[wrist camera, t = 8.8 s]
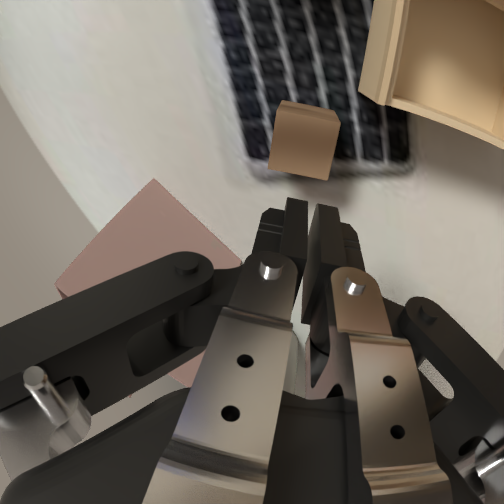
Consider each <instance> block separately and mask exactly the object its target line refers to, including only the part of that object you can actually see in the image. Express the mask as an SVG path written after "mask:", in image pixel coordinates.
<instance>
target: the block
mask: <svg viewBox="0 0 504 504" xmlns="http://www.w3.org/2000/svg"><path fill="white" fill-rule="evenodd" d="M340 124H341V123H340V121H339V119H338V117H337V115H336V113H335V111H334V110H329V109H325V108H320V107H315V106H311V105H305V104H300V103H295V102H289V101H284V100H282V101H281V103H280V105H279V107H278V109H277V112H276V119H275V125H274V131H273V138H272V144H271V150H270V157H269V163H268V169H271V170H277V171H282V172H287V173H293V174H298V175H303V176H308V177H313V178H317V179H322V180H328V176H329V172H330V168H331V164H332V160H333V155H334V151H335V147H336V142H337V138H338V133H339V129H340Z"/></svg>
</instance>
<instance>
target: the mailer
mask: <svg viewBox="0 0 504 504" xmlns="http://www.w3.org/2000/svg"><path fill="white" fill-rule="evenodd" d="M358 91H359V92H361V93H362V94H364V95H365V96H367V97H368V98H370V99H371V100H373V101H374V102H376V103H377V104H380V105H383V106H385V105H388V106H392V107H395V108H398V109H402V110H405V111H408V112H411V113H414V114H417V115H420V116H423V117H426V118H429V119H431V120H434V121H437V122H440V123H442V124H445V125H448V126H450V127H453V128H455V129H458V130H460V131H463V132H465V133H468V134H470V135H473V136H475V137H477V138H480V139H482V140H484V141H486V142H489V143H491V144H493V145H495V146H497V147H499V148H501V149H504V11H502V10H500V9H499V8H497V7H495V6H494V5H492V4H490V3H488V2H486V1H485V0H374V4H373V11H372V17H371V23H370V29H369V35H368V41H367V47H366V52H365V58H364V63H363V68H362V74H361V79H360V84H359V89H358Z"/></svg>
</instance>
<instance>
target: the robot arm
mask: <svg viewBox="0 0 504 504" xmlns="http://www.w3.org/2000/svg"><path fill="white" fill-rule="evenodd" d="M360 250H361V248H360V244H359V240H358V236H357V233H356V231H355V230H354V229H353V228H352V227H351V225H350V224H346V223H342V222H340V217H339V211H338V208H336V207H332V206H327V205H323V204H317V205H316V208H315V212H314V216H313V219H312V223H311V227H310V231H309V235H308V201H304V200H299V199H294V198H289V197H287V201H286V205H285V210H279V209H274V208H269V209H268V210H266V211H265V212H264V213H262V216H261V220H260V224H259V227H258V231H257V235H256V239H255V242H254V246H253V250H252V254H251V255H249V256H248V257H247V258H246V260H245V262H244V264H243V265H241V266H238V267H235V268H230V269H214V266H213V264H212V262H211V261H210V260H209V259H208V258H207V257H205V256H204V255H202V254H199V253H196V252H190V251H180V252H175V253H172V254H169V255H166V256H164V257H162V258H159V259H157V260H154V261H152V262H149V263H147V264H145V265H142V266H140V267H137V268H135V269H133V270H130V271H128V272H125V273H123V274H121V275H118V276H116V277H114V278H111V279H109V280H106V281H104V282H102V283H99V284H97V285H95V286H92V287H90V288H88V289H85V290H83V291H81V292H78V293H76V294H74V295H72V296H69V297H67V298H65V299H62V300H61V301H58V302H56V303H53V304H51V305H49V306H47V307H44V308H42V309H40V310H37V311H35V312H33V313H31V314H29V315H26V316H24V317H22V318H20V319H18V320H15V321H13V322H11V323H9V324H7V325H4V326H2V327H0V456H1V459H2V461H3V463H4V466H5V468H6V470H7V473H8V475H9V477H10V479H11V481H12V482H11V483H10V484H9V485H8V486H7V488H6V489H5V491H4V493H3V495H2V498H1V500H0V504H504V370H503V369H502V368H501V367H500V366H499V364H498V363H497V362H496V361H495V360H494V359H493V358H492V357H491V356H490V355H489V354H488V353H487V352H486V351H485V350H484V349H483V348H482V347H481V346H480V345H479V344H478V343H477V342H476V341H475V340H474V339H473V338H472V337H471V336H470V335H469V334H468V333H467V332H466V331H465V330H464V329H463V328H462V327H461V326H460V325H459V324H458V323H457V322H456V321H455V320H454V319H453V318H452V317H451V316H450V315H449V314H448V313H447V312H446V311H444V310H443V309H442V308H441V307H440V306H439V305H438V304H437V303H435V302H434V301H432V300H430V299H427V298H424V297H413V298H410V299H409V300H408V301H407V303H406V305H405V306H402V305H399V304H397V303H395V302H392V301H390V300H388V299H386V298H384V297H382V295H381V292H380V289H379V286H378V284H377V282H376V281H375V279H374V278H373V277H372V276H370V275H369V274H368V273H366V271H365V267H364V262H363V257H362V253H361V251H360ZM302 277H303V293H302V314H301V323H303V324H308V325H310V333H309V335H308V338H307V341H306V345H305V355H306V395H305V398H302V397H299V396H297V395H294V391H295V380H296V369H297V355H298V340H297V337H296V335H295V334H294V332H293V331H292V328H293V323H291V322H290V320H291V314H292V310H293V307H294V303H295V300H296V297H297V293H298V290H299V287H300V283H301V280H302ZM205 349H206V350H205ZM204 350H205V353H204V356H203V358H202V361H201V363H200V366H199V368H198V371H197V374H196V376H195V379H194V381H193V384H192V387H188V388H183V389H180V390H177V391H174V392H171V393H169V394H167V395H164V396H163V397H161V398H159V399H157V400H155V401H154V402H152V403H150V404H149V405H147V406H146V407H144V408H142V409H140V410H139V411H137V412H135V413H134V414H132V415H130V416H129V417H127V418H125V419H123V420H122V421H120V422H118V423H117V424H115V425H113V426H111V427H110V428H108V429H106V430H104V431H103V432H101V433H99V434H97V435H95V436H94V437H92V438H90V439H88V440H86V441H84V442H83V443H81V444H79V445H77V446H75V447H74V445H75V444H77V443H78V442H80V441H81V440H82V439H83V438H84V437H85V436H86V435H87V433H88V431H89V429H90V426H91V416H92V415H94V414H96V413H98V412H100V411H102V410H103V409H105V408H107V407H109V406H111V405H113V404H115V403H116V402H118V401H120V400H122V399H124V398H125V397H127V396H129V395H131V394H133V393H134V392H136V391H138V390H140V389H141V388H143V387H145V386H147V385H148V384H150V383H152V382H154V381H155V380H157V379H159V378H160V377H162V376H164V375H166V374H167V373H169V372H171V371H173V370H174V369H176V368H178V367H179V366H181V365H183V364H184V363H186V362H188V361H189V360H191V359H193V358H194V357H196V356H198V355H199V354H201V353H202V352H204ZM425 359H427V360H428V361H429V362H430V363H431V364H432V365H433V366H434V367H435V368H436V369H437V370H438V372H439V373H440V374H441V375H442V376H443V377H444V378H445V379H446V380H447V381H448V382H449V383H450V385H451V386H452V388H453V390H454V398H452V399H448V398H445V397H444V396H442V394H441V393H440V392H439V391H438V390H437V389H436V388H435V387H434V386H433V384H432V383H431V382H430V381H429V380H428V379H427V378H426V377H425V376H424V375H423V373H422V372H421V371H420V370H419V369H418V367H419V366H420V365H421V364H422V362H423V361H424V360H425Z"/></svg>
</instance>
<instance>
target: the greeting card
mask: <svg viewBox="0 0 504 504" xmlns="http://www.w3.org/2000/svg"><path fill="white" fill-rule="evenodd" d="M180 251H190V252H196V253H199V254H202V255H204V256H205V257H207V258H208V259H209V260H210V261H211V262H212V264H213V266H214V269H230V268H235V267H238V266H240V263H241V260H240V259H239V258H238V257H237V256H236V255H235V254H234V253H233V252H232V251H231V250H230V249H229V248H227V247H226V246H225V245H224V244H223V243H222V242H221V241H220V240H219V239H218V238H217V237H216V236H215V235H214V234H213V233H211V232H210V231H209V230H208V229H207V228H206V227H205V226H204V225H203V224H202V223H201V222H200V221H199V220H198V219H197V218H195V217H194V216H193V215H192V214H191V213H190V212H189V211H188V210H187V209H186V208H185V207H184V206H183V205H182V204H181V203H180V202H179V201H177V200H176V199H175V198H174V197H173V196H172V195H171V194H170V193H169V192H168V191H167V190H166V189H165V188H164V187H163V186H162V185H161V184H160V183H158V182H157V181H156V180H155V179H154V178H153V179H152V180H151V181H150V182H149V183H148V184H147V185H146V186H145V187H144V188H143V189H142V190H141V191H140V192H139V193H138V194H137V195H136V196H135V197H133V198H132V199H131V200H130V201H129V202H128V203H127V204H126V205H125V206H124V207H123V208H122V209H121V210H120V211H119V212H118V213H117V215H116V216H115V217H114V218H113V219H112V220H111V221H110V222H109V223H108V224H107V225H106V226H105V227H104V228H103V229H102V230H101V231H100V232H99V233H98V234H97V235H96V237H95V238H94V239H93V240H92V241H91V242H90V243H89V244H88V245H87V246H86V248H85V249H84V250H83V251H82V252H81V253H80V254H79V255H78V256H77V258H76V259H75V260H74V261H73V262H72V263H71V264H70V266H69V267H68V268H67V269H66V270H65V272H63V274H62V275H61V276H60V277H59V278H58V280H57V281H56V282H55V283H54V285H55V287H56V289H57V291H58V292H59V294H60V295H61V298H62V299H65V298H67V297H69V296H72V295H74V294H76V293H78V292H81V291H83V290H85V289H88V288H90V287H92V286H95V285H97V284H99V283H102V282H104V281H106V280H109V279H111V278H114V277H116V276H118V275H121V274H123V273H125V272H128V271H130V270H133V269H135V268H137V267H140V266H142V265H145V264H147V263H149V262H152V261H154V260H157V259H159V258H162V257H164V256H166V255H169V254H172V253H175V252H180ZM205 350H206V349H205ZM205 350H204V352H202V353H201V354H199V355H198V356H196V357H194V358H193V359H191V360H189V361H188V362H186V363H184V364H183V365H181V366H179V367H178V368H176V369H174V370H173V371H171V372H169V373H167V374H168V375H170V376H171V377H173V378H174V379H176V380H177V381H179V382H180V383H182V384H183V385H185V386H186V387H192V384H193V381H194V379H195V376H196V374H197V371H198V368H199V366H200V363H201V361H202V358H203V356H204V353H205ZM131 395H132V394H131ZM131 395H129V398H130V397H131Z"/></svg>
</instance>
